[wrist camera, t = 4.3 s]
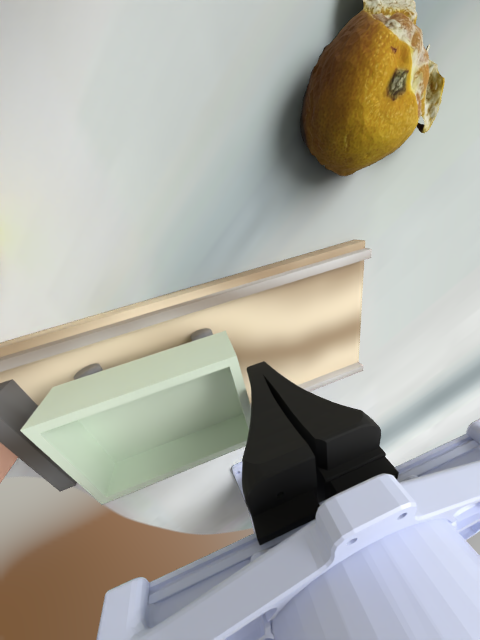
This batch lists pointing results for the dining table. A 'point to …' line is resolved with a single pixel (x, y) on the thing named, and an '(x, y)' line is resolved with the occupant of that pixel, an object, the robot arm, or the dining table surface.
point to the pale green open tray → (145, 417)
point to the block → (6, 461)
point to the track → (186, 318)
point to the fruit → (370, 88)
